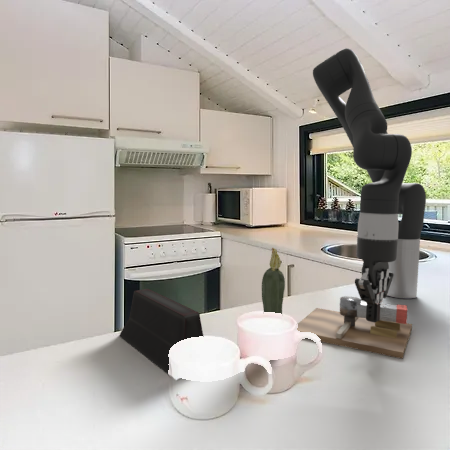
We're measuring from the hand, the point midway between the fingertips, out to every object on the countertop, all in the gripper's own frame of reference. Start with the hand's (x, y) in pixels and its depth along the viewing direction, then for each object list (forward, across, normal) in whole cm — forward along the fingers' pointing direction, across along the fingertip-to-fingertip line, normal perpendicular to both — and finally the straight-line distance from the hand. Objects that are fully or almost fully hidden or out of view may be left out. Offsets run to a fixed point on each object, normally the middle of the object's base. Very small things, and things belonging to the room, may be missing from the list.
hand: (372, 320), depth 79 cm
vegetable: (+5, -18, +12) cm, 22 cm away
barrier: (+6, -33, +26) cm, 42 cm away
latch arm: (+1, +6, +3) cm, 6 cm away
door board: (+5, +3, +6) cm, 8 cm away
